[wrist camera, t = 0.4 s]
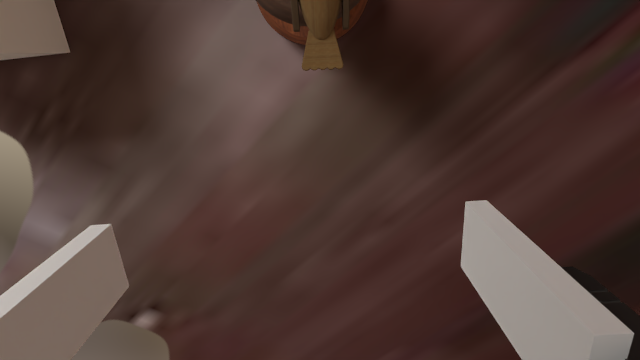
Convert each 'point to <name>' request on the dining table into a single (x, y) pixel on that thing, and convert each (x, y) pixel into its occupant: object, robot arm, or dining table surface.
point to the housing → (30, 29)
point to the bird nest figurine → (314, 26)
